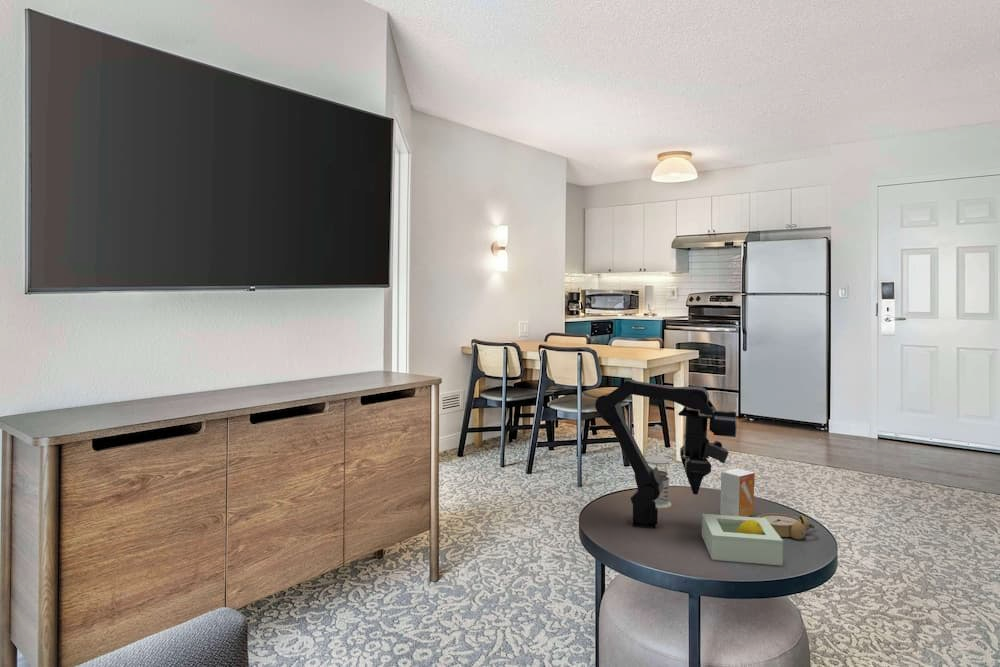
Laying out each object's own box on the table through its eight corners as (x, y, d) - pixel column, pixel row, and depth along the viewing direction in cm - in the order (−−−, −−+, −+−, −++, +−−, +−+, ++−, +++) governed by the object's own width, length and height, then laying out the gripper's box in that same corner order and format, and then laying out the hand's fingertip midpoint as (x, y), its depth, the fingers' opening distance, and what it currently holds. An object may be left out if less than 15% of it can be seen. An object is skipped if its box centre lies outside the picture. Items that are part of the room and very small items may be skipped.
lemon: (751, 556, 145) (770, 536, 141) (731, 545, 146) (749, 526, 142) (749, 539, 150) (767, 520, 146) (729, 529, 151) (747, 510, 146)
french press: (676, 508, 180) (677, 427, 180) (638, 508, 180) (640, 427, 179) (666, 498, 190) (667, 422, 189) (631, 498, 190) (632, 421, 189)
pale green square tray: (711, 559, 142) (712, 535, 142) (701, 535, 158) (702, 513, 157) (782, 565, 139) (783, 540, 139) (764, 540, 155) (765, 518, 154)
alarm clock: (761, 511, 170) (818, 513, 161) (764, 528, 170) (821, 531, 160) (750, 521, 161) (810, 524, 152) (753, 539, 161) (813, 543, 152)
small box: (738, 520, 170) (739, 476, 170) (719, 514, 175) (720, 471, 175) (754, 515, 175) (755, 472, 174) (734, 509, 180) (735, 467, 179)
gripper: (733, 442, 149) (730, 502, 149) (721, 428, 167) (718, 482, 168) (687, 439, 151) (685, 498, 152) (681, 425, 169) (678, 479, 170)
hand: (693, 489), depth 160 cm, fingers open, 9 cm apart
